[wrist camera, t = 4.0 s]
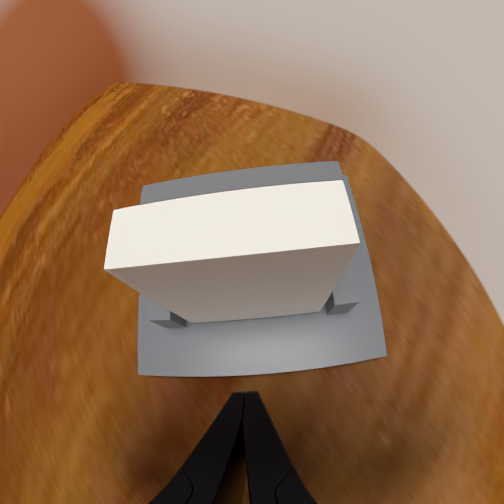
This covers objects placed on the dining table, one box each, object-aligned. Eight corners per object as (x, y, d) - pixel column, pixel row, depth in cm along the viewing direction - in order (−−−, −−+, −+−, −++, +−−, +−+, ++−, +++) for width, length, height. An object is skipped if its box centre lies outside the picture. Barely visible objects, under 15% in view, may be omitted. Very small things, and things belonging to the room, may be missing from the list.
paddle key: (320, 311, 14) (360, 242, 7) (190, 322, 15) (104, 269, 7) (315, 276, 15) (342, 180, 8) (190, 288, 16) (113, 210, 8)
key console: (379, 357, 14) (423, 348, 9) (147, 374, 15) (93, 371, 10) (343, 185, 19) (357, 128, 14) (155, 207, 20) (122, 159, 15)
